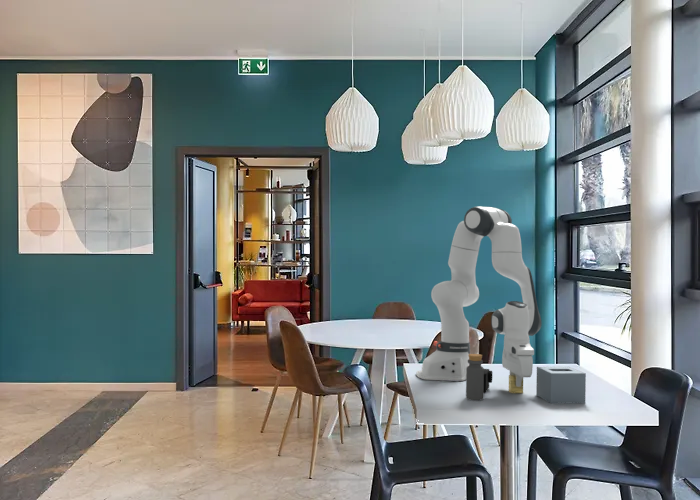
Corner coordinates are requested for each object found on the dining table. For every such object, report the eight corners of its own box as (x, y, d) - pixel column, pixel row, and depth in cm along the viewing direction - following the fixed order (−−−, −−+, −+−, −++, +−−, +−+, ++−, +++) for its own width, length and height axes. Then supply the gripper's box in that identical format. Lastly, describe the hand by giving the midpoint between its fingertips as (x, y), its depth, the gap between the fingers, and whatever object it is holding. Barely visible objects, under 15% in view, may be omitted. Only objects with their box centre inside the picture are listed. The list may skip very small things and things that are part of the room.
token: (510, 393, 210) (511, 376, 210) (508, 391, 212) (508, 375, 212) (523, 393, 210) (523, 376, 210) (520, 391, 212) (520, 375, 212)
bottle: (480, 401, 196) (480, 356, 197) (463, 399, 199) (464, 355, 200) (485, 398, 201) (486, 354, 201) (469, 395, 204) (470, 352, 205)
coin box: (550, 403, 196) (551, 373, 196) (536, 394, 207) (536, 366, 208) (585, 403, 197) (585, 373, 197) (568, 394, 209) (569, 366, 209)
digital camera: (488, 393, 208) (489, 374, 209) (473, 392, 210) (473, 372, 210) (492, 387, 218) (492, 369, 218) (477, 386, 220) (477, 367, 220)
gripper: (498, 342, 221) (497, 379, 221) (518, 351, 201) (517, 391, 201) (514, 342, 222) (513, 379, 222) (536, 351, 201) (535, 391, 201)
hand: (515, 385), depth 211 cm, fingers closed on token, 2 cm apart
